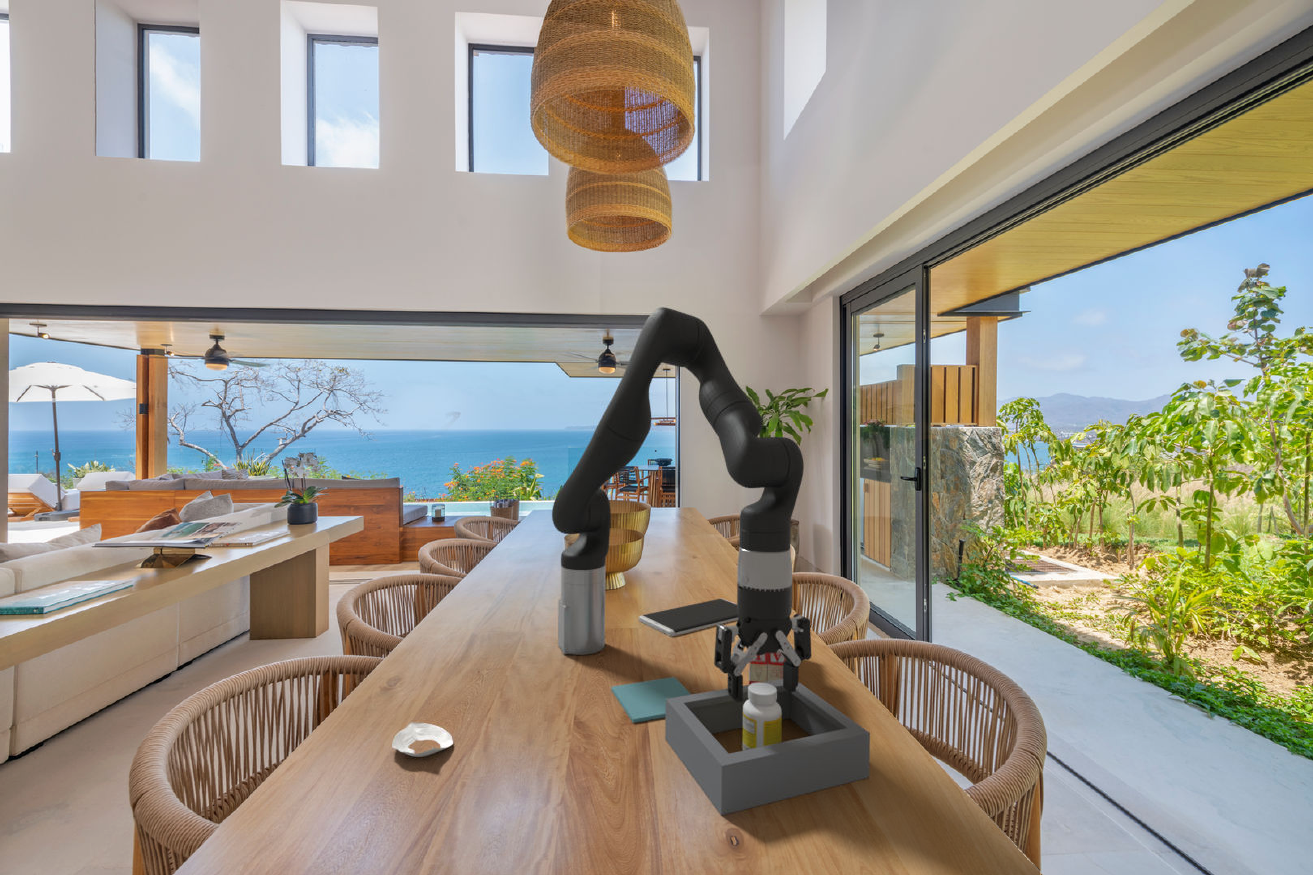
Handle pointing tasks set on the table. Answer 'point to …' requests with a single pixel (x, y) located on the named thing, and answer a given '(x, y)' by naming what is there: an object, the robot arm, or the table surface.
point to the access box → (765, 748)
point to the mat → (648, 697)
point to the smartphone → (691, 617)
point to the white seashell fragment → (421, 738)
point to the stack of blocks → (766, 668)
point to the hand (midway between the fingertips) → (763, 694)
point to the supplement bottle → (761, 717)
